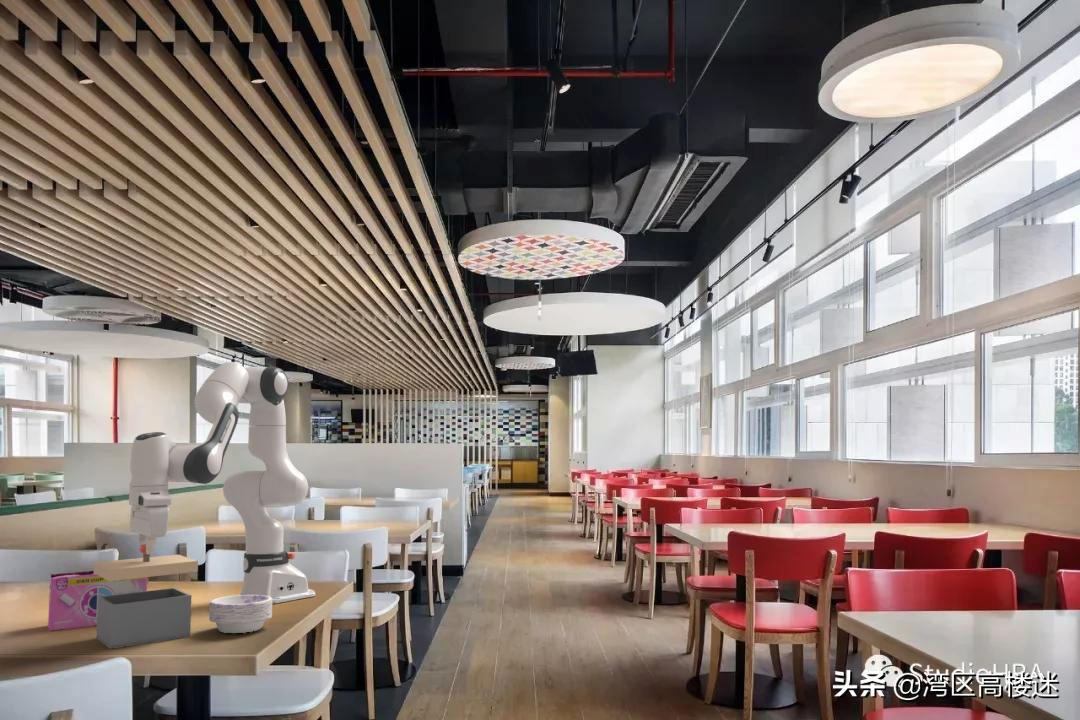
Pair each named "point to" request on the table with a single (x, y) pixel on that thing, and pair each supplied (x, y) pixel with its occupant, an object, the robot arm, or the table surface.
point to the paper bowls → (240, 612)
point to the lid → (145, 566)
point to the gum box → (83, 597)
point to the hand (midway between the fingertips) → (146, 552)
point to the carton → (143, 617)
